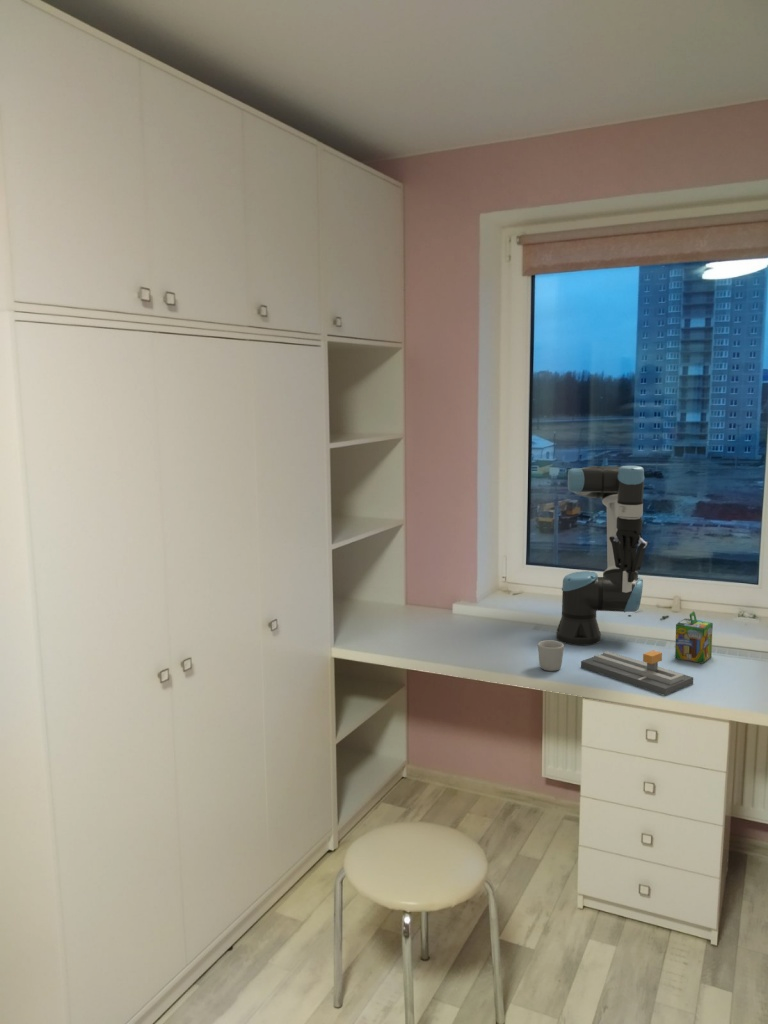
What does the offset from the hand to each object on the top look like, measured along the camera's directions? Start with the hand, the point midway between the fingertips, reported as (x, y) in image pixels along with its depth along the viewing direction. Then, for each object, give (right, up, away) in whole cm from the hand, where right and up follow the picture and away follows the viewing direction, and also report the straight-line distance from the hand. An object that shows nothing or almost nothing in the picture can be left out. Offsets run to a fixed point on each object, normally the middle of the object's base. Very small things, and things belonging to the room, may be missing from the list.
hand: (626, 591), depth 246 cm
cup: (-23, -24, +3) cm, 34 cm away
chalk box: (+25, -23, +10) cm, 35 cm away
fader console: (+1, -25, -5) cm, 26 cm away
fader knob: (+4, -24, -10) cm, 26 cm away
